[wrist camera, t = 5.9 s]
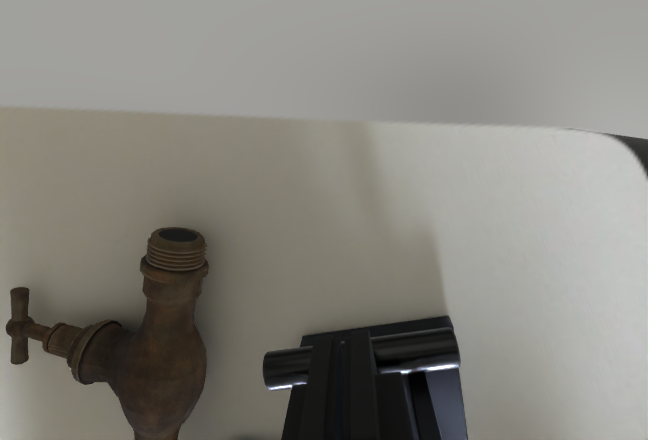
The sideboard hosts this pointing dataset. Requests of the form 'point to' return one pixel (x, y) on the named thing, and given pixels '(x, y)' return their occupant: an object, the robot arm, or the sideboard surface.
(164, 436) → the faucet
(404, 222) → the sideboard surface
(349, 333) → the bracket
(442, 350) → the tap lever
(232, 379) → the sideboard surface
